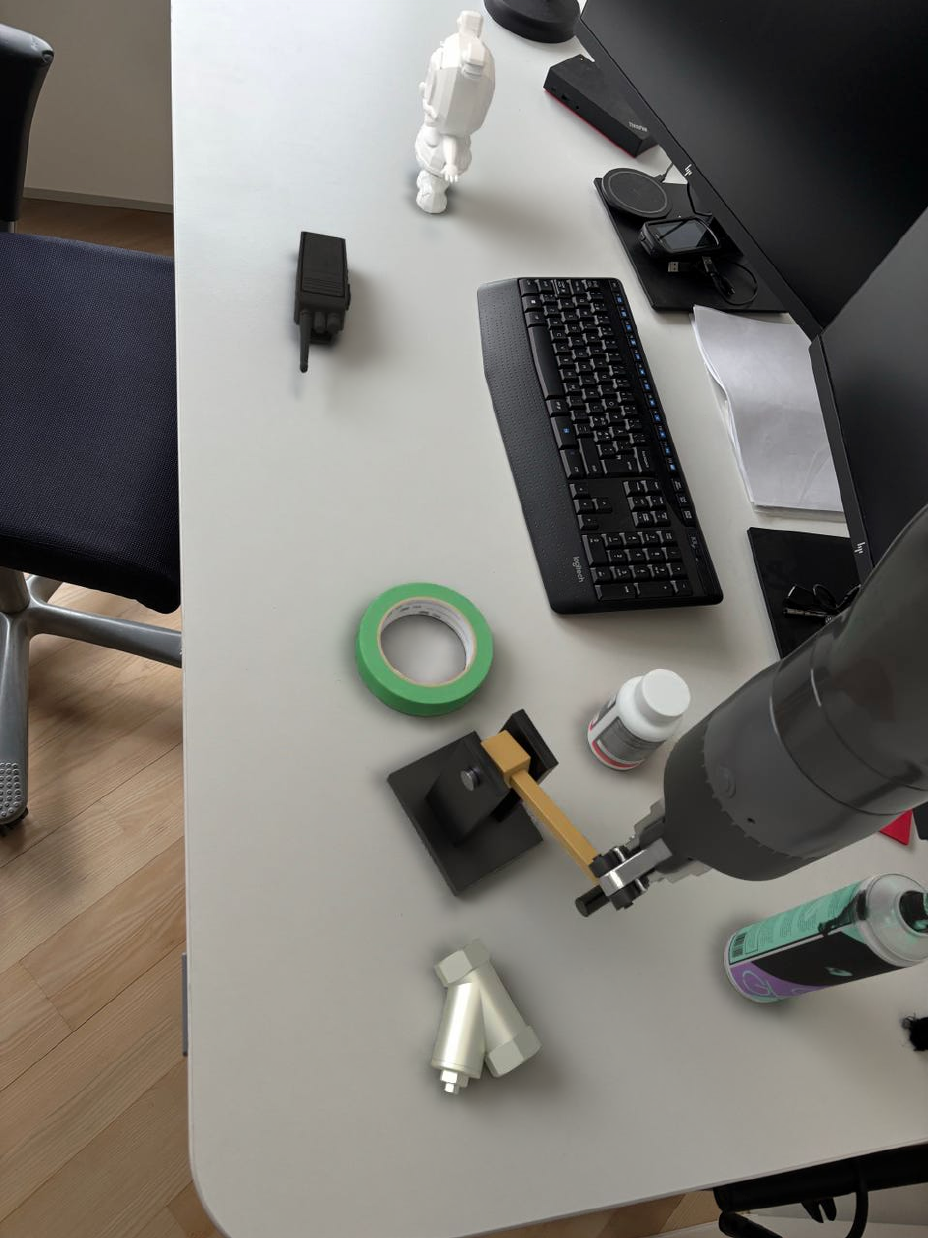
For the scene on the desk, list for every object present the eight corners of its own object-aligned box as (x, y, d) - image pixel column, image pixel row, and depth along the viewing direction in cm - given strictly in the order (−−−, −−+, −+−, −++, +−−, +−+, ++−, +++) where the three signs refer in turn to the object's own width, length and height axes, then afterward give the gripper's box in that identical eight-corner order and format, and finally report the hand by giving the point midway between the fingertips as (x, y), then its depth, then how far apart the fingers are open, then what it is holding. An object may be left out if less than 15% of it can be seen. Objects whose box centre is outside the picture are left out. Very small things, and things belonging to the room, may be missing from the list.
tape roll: (361, 719, 72) (366, 706, 70) (348, 598, 77) (353, 581, 75) (495, 713, 75) (504, 700, 73) (474, 597, 80) (482, 581, 78)
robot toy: (397, 246, 100) (436, 72, 84) (398, 134, 110) (432, -41, 94) (463, 258, 102) (514, 90, 86) (458, 147, 112) (503, -22, 96)
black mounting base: (539, 844, 71) (601, 789, 60) (454, 896, 67) (503, 847, 56) (471, 735, 74) (518, 665, 63) (386, 779, 70) (420, 712, 59)
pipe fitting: (448, 1107, 60) (531, 1049, 63) (459, 1108, 57) (546, 1046, 60) (389, 995, 63) (471, 943, 65) (395, 989, 59) (482, 935, 62)
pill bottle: (653, 767, 76) (709, 722, 68) (595, 774, 75) (644, 728, 66) (635, 708, 79) (686, 657, 70) (578, 713, 77) (624, 662, 69)
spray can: (737, 1009, 68) (914, 964, 51) (713, 934, 70) (875, 866, 54) (799, 996, 70) (990, 947, 53) (773, 922, 72) (949, 854, 55)
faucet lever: (646, 884, 56) (654, 864, 55) (584, 926, 54) (591, 906, 53) (518, 742, 64) (522, 720, 62) (459, 773, 62) (462, 751, 60)
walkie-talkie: (364, 251, 95) (366, 380, 84) (317, 280, 98) (313, 410, 86) (327, 205, 91) (323, 335, 80) (278, 237, 93) (269, 367, 82)
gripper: (736, 928, 34) (574, 993, 49) (943, 773, 40) (744, 872, 55) (620, 758, 36) (499, 869, 51) (833, 635, 42) (670, 766, 57)
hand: (626, 870), depth 53 cm, fingers closed
